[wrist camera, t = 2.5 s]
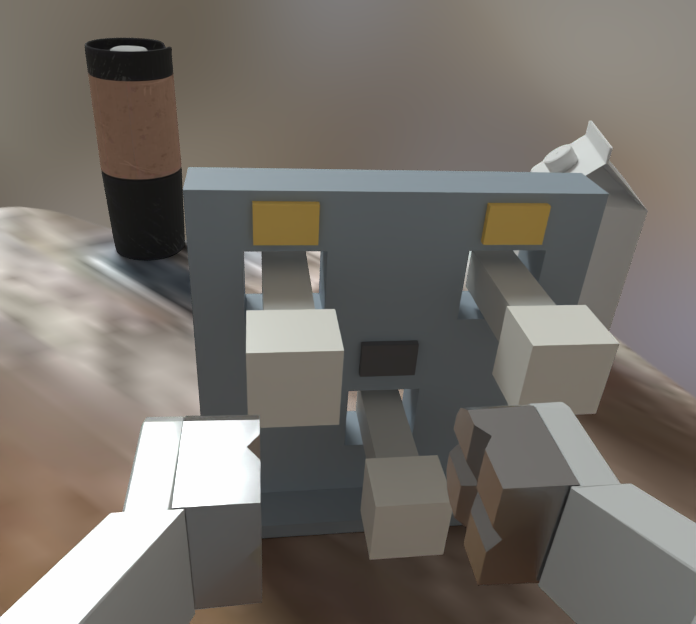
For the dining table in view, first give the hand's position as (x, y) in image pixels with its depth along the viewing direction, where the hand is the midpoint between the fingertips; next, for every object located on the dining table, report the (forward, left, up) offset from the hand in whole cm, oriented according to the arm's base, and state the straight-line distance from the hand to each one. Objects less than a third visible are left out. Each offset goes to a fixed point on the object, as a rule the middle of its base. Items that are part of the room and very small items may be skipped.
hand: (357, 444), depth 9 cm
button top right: (+11, +18, -11) cm, 23 cm away
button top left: (0, +18, -11) cm, 21 cm away
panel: (+5, +22, -24) cm, 33 cm away
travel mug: (-13, +57, -24) cm, 63 cm away
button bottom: (+5, +18, -19) cm, 27 cm away
